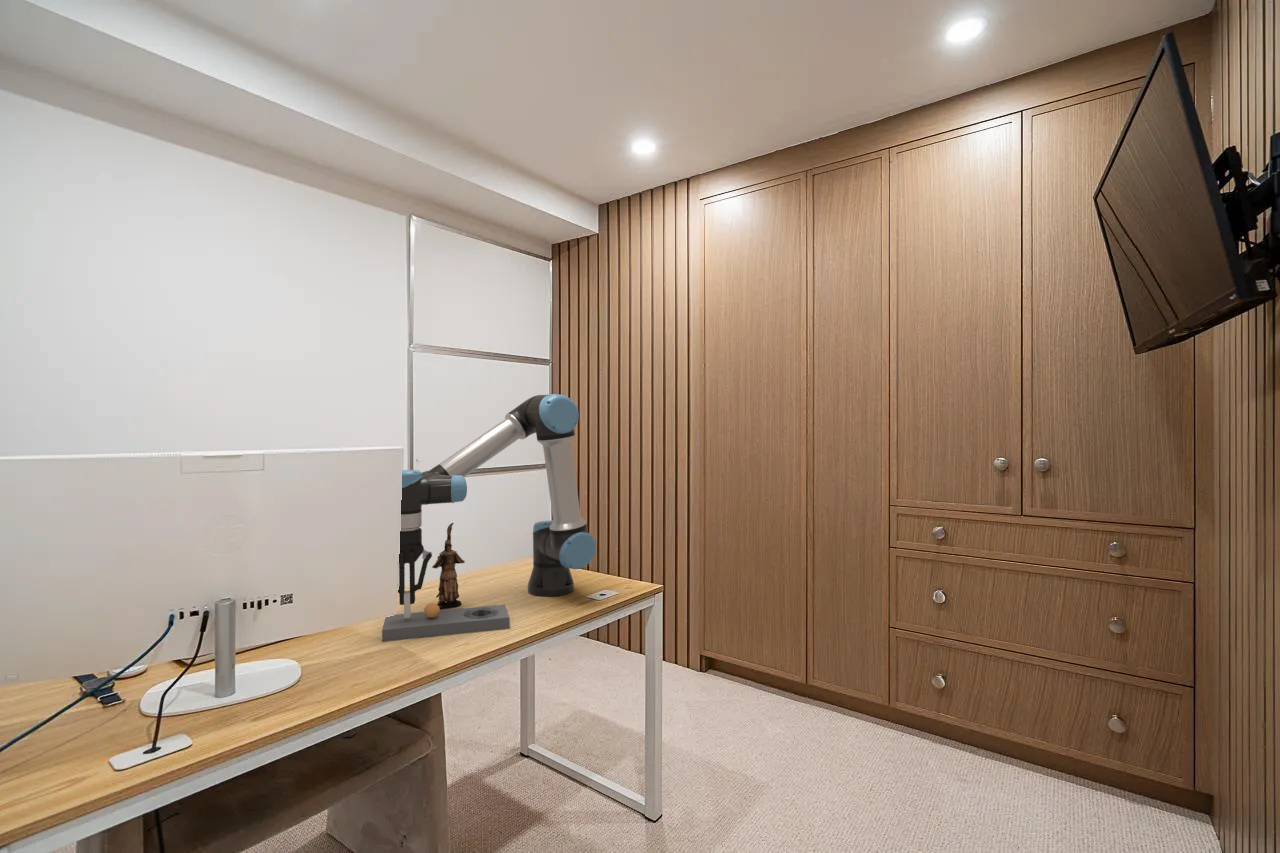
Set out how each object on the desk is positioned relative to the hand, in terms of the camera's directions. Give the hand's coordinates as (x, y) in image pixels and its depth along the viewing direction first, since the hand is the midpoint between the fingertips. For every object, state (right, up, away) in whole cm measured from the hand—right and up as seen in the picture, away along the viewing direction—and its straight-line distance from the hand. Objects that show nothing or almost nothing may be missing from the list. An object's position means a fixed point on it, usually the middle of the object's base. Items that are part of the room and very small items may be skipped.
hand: (407, 616), depth 164 cm
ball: (+6, +1, +2) cm, 6 cm away
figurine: (+4, -4, +21) cm, 22 cm away
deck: (+10, -4, +3) cm, 11 cm away
